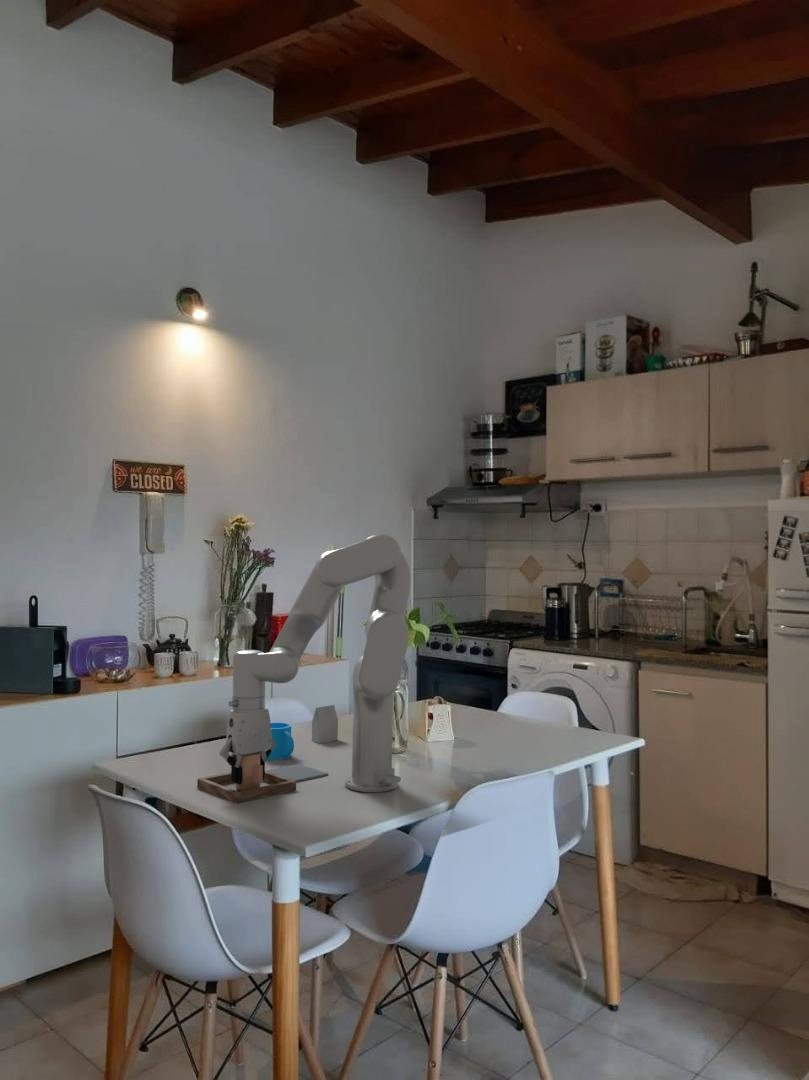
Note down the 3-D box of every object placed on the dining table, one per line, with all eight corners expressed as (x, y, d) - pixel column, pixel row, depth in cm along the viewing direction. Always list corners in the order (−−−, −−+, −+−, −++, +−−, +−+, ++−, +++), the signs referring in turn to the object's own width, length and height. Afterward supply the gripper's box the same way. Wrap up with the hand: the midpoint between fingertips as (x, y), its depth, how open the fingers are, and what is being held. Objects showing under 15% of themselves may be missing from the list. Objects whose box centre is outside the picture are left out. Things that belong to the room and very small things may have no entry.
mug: (254, 755, 241) (254, 725, 241) (279, 750, 247) (279, 721, 247) (279, 763, 232) (280, 732, 232) (305, 759, 238) (305, 728, 238)
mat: (327, 775, 222) (328, 773, 222) (288, 783, 213) (288, 781, 213) (298, 766, 230) (298, 764, 230) (259, 773, 222) (259, 771, 222)
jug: (231, 787, 209) (231, 753, 209) (251, 782, 213) (251, 749, 213) (250, 794, 203) (250, 759, 203) (270, 789, 207) (271, 755, 207)
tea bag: (337, 739, 262) (338, 705, 262) (320, 743, 257) (320, 708, 257) (329, 737, 264) (329, 704, 264) (311, 741, 260) (312, 706, 260)
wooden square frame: (296, 789, 208) (296, 781, 208) (236, 802, 197) (236, 793, 197) (255, 775, 220) (255, 767, 220) (197, 787, 209) (197, 778, 209)
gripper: (226, 710, 200) (225, 791, 200) (288, 701, 212) (287, 777, 212) (208, 705, 205) (207, 784, 205) (269, 697, 217) (269, 771, 217)
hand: (248, 780), depth 209 cm, fingers closed on jug, 5 cm apart
